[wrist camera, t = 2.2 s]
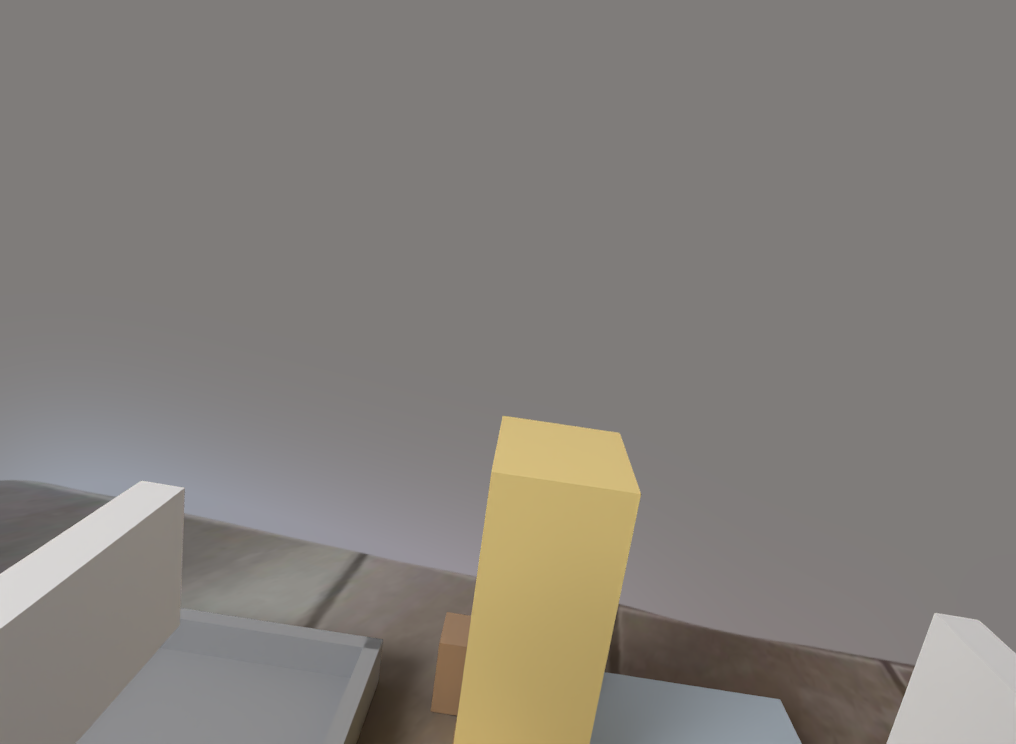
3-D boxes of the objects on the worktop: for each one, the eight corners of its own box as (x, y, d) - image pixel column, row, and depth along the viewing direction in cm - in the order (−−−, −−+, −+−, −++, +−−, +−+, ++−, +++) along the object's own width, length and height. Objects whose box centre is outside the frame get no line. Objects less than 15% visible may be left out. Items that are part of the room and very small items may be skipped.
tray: (378, 680, 33) (382, 639, 32) (275, 971, 20) (279, 913, 20) (115, 639, 33) (114, 597, 32) (-149, 901, 20) (-158, 841, 20)
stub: (561, 740, 31) (620, 432, 27) (566, 865, 25) (642, 494, 21) (458, 723, 31) (501, 415, 27) (438, 844, 25) (489, 472, 21)
